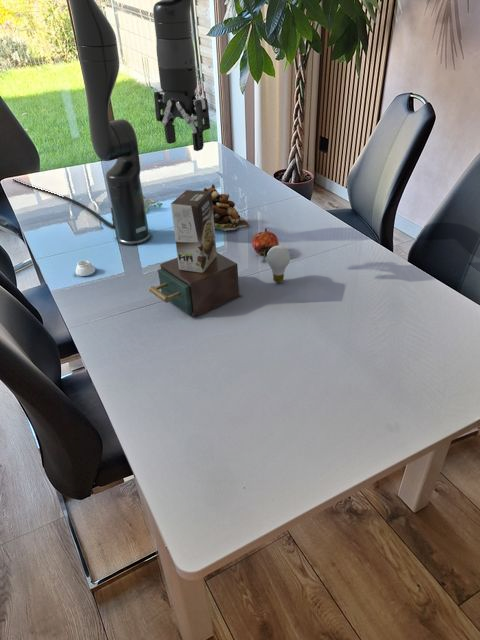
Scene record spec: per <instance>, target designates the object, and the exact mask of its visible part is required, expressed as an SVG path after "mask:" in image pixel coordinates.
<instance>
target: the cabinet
mask: <svg viewBox="0 0 480 640" xmlns="http://www.w3.org/2000/svg"><path fill="white" fill-rule="evenodd" d="M216 254H217V256H216V257H215V259H214V260H213V261H212V262H211V264H210V265H209V266H208V267H207V269H206V270H205V271H204V272H203V273H199V272H192V271H185V270H179V264H178V257H175V258H173V259H169V260H168V261H164V262H162V263H160V264H159V265H160V269H163V270H165V271H167V272H168V273H171V274H172V275H174V276H176V277H177V278H179V279H180V280H182V281H183V282H185V283H186V284H188V285H189V288H190V296H191V304H192V312H193V313H191V314H190V315H191V316H193V318H194V317H195V318H196V317H198V316H200V315H202V314H205V313H206V312H209V311H211V310H213V309H215V308H218V307H219V306H221V305H224V304H226V303H228V302H230V301H232V300H234V299H236V298H239V297H240V286H239V284H240V283H239V268H238V263H237V262H236V261H234V260H232V259H230V258H228V257H226V256H224V255H222V254H220V253H219V252H217V251H216Z"/></svg>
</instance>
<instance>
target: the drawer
mask: <svg viewBox="0 0 480 640" xmlns="http://www.w3.org/2000/svg"><path fill="white" fill-rule="evenodd" d="M157 273H158V280H159V285H157V286H153V285H152V286H150V287H149V289H148V290H149V292H150V293H151V294H153V295H154V296H155V297H158V299H160V300H161V301H163V303H169V302H170V303H171V304H172V305H174V306H175V307H177V308H178V309H180V310H181V311H183V312H184V313H185V314H187V315H189V316H190V315H191V313H193V312H192V304H191V296H190V288H189V285H188V284H186V283H185V282H183V281H182V280H180V279H179V278H177V277H176V276H174V275H172V274H171V273H168V272H167V271H165V270H163V269H161V268H159V269H158V270H157Z"/></svg>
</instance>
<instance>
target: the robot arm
mask: <svg viewBox="0 0 480 640" xmlns="http://www.w3.org/2000/svg"><path fill="white" fill-rule="evenodd" d="M192 1H193V0H159V1H157V2H155V3H154V5H153V10H152V14H153V22H154V31H155V39H156V41H155V42H156V44H155V45H156V46H155V50H156V58H157V65H158V66H157V68H158V76H159V86H160V89H161V90H158V91H154V92H153V98H154V111H155V119H156V121H157V122H160V123H161V124H162V126H163V129H164V137H165V141H166V143H167V144H169V145H171V144H174V143H176V142H177V137H176V128H175V127H176V126H175V124H174V123H175V121H176V118H179V119H182V120H184V122H185V123H186V124H187V125H189V127H190V129H191V131H192V133H191V135H192V147H193V151H195V152H199V151H202V150H203V148H204V145H205V144H204V131H207V130H210V129H211V122H210V121H211V120H210V111H209V102H208V99H207V98H205V97H204V98H197V97H196V93H195V92H196V90H197V88H198V80H197V68H196V67H197V66H196V55H195V54H196V53H195V46H194V42H193V32H192V20H191V8H192ZM69 3H70V9H71V14H72V19H73V26H74V33H75V38H76V39H75V40H76V47H77V51H78V56H79V62H80V67H81V72H82V77H83V83H84V90H85V95H86V96H85V97H86V101H87V103H86V104H87V114H88V125H89V135H90V141H91V145H92V148H93V150H94V153H95V154H96V156H97V158H99V159H100V160H101V161H102V162H111V161H115V160H116V161H115V163H114V164H113V165H112V166H111V168H110V169H108V170H107V171H106V173H105V181H106V184H107V190H108V194H109V199H110V204H111V207H110V210H111V216H112V217H111V218H112V220H111V221H112V224H111V223H110V222H108V221H107V220H106V219H105V218H103V217H102V216H100V215H99V214H97V213H96V212H95V211H94V210H92V209H91V208H89V207H88V206H87V205H84V204H83V203H81V202H79V201H77V200H75V199H73V198H70V197H68V196H66V195H63V196H64V197H62V196H59V195H57V194H54V193H51V192H48V191H49V190H48V191H45V190H46V189H45V190H41V189H38V188H35V187H32V186H29V185H26V184H23V183H21V182H18V181H16V180H14V179H13V178H12V181H13V182H15V183H18V184H20V185H23V186H24V187H25V186H26V187H27V188H31V189H34V190H37V191H40V192H43V193H46V194H50V195H51V196H55V197H58V198H61V199H64V200H66V201H68V202H71V203H73V204H75V205H76V206H79V207H80V208H82V209H84V210H86V211H87V212H88V213H90V214H91V215H92V216H94V217H95V218H96V219H98V220H99V221H100V222H102V223H103V224H104V225H106V226H107V227H109V228H111V229H114V230H115V234H116V239H118V242H119V243H121V244H123V245H127V246H129V245H130V246H133V245H139V244H143V243H145V242H147V241H149V239H150V238H151V234H150V231H149V229H150V228H149V225H148V224H149V223H148V217H147V211H145V210H146V207H145V205H144V199H143V195H144V194H143V188H142V182H141V161H140V154H139V153H140V151H139V143H138V137H137V134H136V132H135V129H134V127H133V125H132V124H131V123H130V122H129V121H128V120H127V119H125V118H118V119H115V120H111V121H110V111H109V110H110V102H111V99H112V98H111V97H112V93H113V92H114V91H113V90H114V88H115V85H116V83H117V79H118V76H119V71H120V57H119V48H118V41H117V36H116V32H115V30H114V28H113V27H112V25H111V23H110V21H109V19H108V18H107V16H106V15H105V14H104V12H103V11H102V10H101V7H99V5H98V4H97V1H96V0H69Z"/></svg>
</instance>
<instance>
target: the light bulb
mask: <svg viewBox="0 0 480 640" xmlns="http://www.w3.org/2000/svg"><path fill="white" fill-rule="evenodd" d="M290 261H291V254H290V251H289V249H287V248H286V247H285V246H283V245H279V246H274V247H272V248H271V249H270V250H269V251H268V253H267V254H266V262H267V264H268V266H269V267H270V269H271V272H272V278H273V281H274V282H275V283H277V284H280V283H281V282H283V281H284V278H285V277H284V276H285V271H286V268H287V267H288V265H289V264H290Z"/></svg>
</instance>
